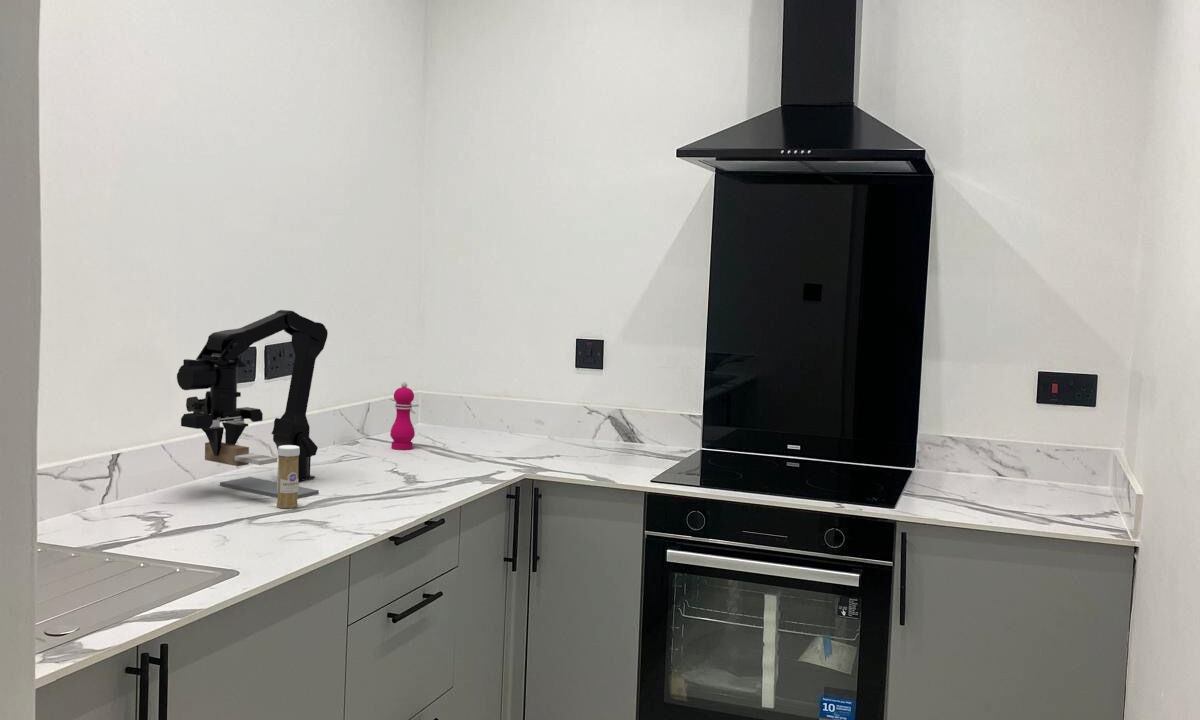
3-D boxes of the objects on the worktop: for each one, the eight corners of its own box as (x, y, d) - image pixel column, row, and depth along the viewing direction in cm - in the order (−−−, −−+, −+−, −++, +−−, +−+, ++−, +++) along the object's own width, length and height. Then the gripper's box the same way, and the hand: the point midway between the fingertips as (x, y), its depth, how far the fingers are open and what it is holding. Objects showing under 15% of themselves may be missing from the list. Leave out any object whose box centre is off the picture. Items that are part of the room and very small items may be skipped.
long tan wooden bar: (201, 460, 227) (201, 443, 227) (218, 457, 232) (219, 440, 231) (259, 471, 218) (260, 453, 218) (277, 468, 223) (277, 451, 222)
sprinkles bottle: (286, 509, 215) (288, 448, 214) (271, 506, 217) (273, 446, 216) (302, 506, 219) (304, 446, 218) (287, 503, 221) (289, 443, 220)
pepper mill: (388, 446, 300) (390, 380, 298) (412, 446, 302) (415, 381, 300) (390, 450, 293) (393, 383, 291) (415, 450, 295) (418, 383, 293)
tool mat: (249, 479, 243) (249, 476, 243) (318, 493, 232) (318, 490, 232) (219, 485, 235) (219, 482, 235) (289, 500, 224) (289, 496, 224)
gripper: (232, 381, 238) (230, 445, 240) (165, 386, 222) (163, 455, 223) (265, 386, 233) (263, 451, 234) (198, 391, 217) (197, 462, 218)
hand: (222, 454), depth 228 cm, fingers closed on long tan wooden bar, 3 cm apart
